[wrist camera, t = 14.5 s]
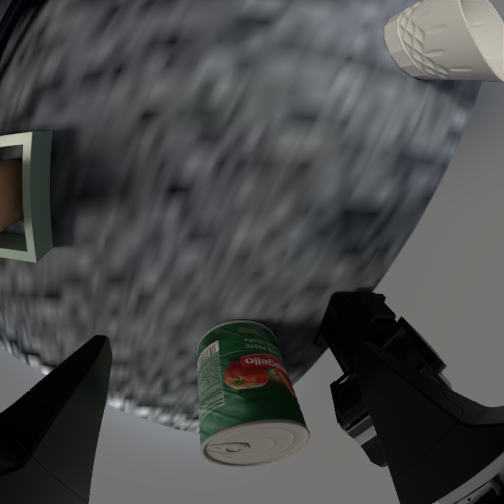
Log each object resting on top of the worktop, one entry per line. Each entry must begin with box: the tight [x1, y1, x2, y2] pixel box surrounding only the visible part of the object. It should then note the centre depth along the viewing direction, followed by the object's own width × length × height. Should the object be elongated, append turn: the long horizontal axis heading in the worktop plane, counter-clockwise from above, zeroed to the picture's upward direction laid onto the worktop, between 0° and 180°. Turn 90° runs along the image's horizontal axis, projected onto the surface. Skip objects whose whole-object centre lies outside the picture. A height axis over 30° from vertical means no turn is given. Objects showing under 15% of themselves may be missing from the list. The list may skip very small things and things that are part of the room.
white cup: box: [384, 0, 504, 83], centre depth 11 cm, size 8×8×10 cm
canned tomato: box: [197, 320, 310, 467], centre depth 20 cm, size 8×8×11 cm
